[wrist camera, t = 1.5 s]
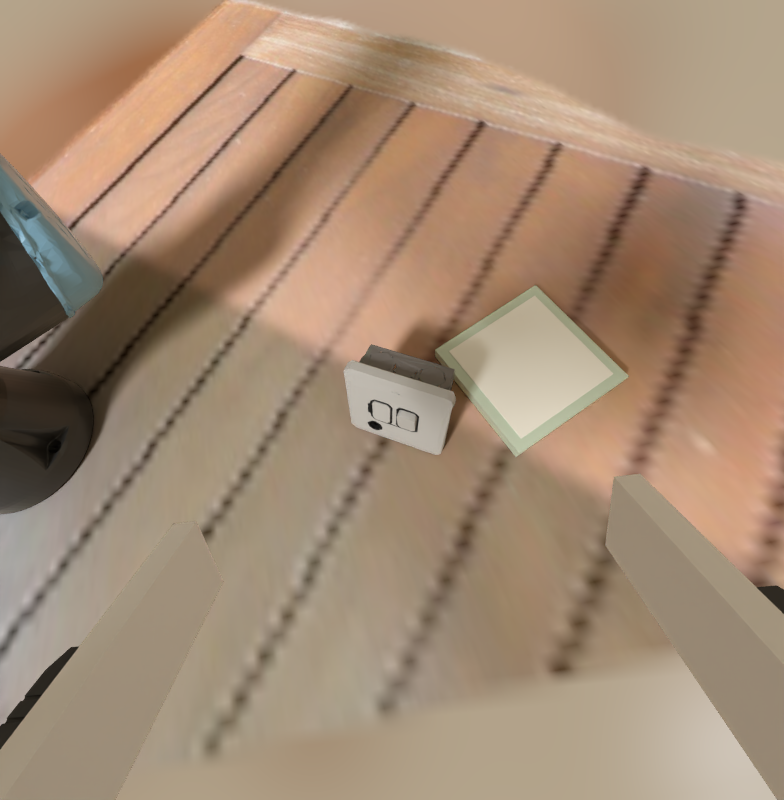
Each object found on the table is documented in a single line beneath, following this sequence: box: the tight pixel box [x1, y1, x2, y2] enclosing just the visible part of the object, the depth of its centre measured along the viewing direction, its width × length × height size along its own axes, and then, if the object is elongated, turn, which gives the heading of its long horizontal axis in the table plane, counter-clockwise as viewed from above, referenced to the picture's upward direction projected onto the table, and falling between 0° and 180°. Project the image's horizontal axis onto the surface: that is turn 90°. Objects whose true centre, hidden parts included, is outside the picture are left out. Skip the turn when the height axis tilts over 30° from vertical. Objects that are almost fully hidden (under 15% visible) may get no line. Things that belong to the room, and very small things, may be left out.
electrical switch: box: [344, 345, 456, 455], centre depth 33 cm, size 9×5×9 cm, turn 69°
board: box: [435, 285, 629, 457], centre depth 37 cm, size 13×13×2 cm
